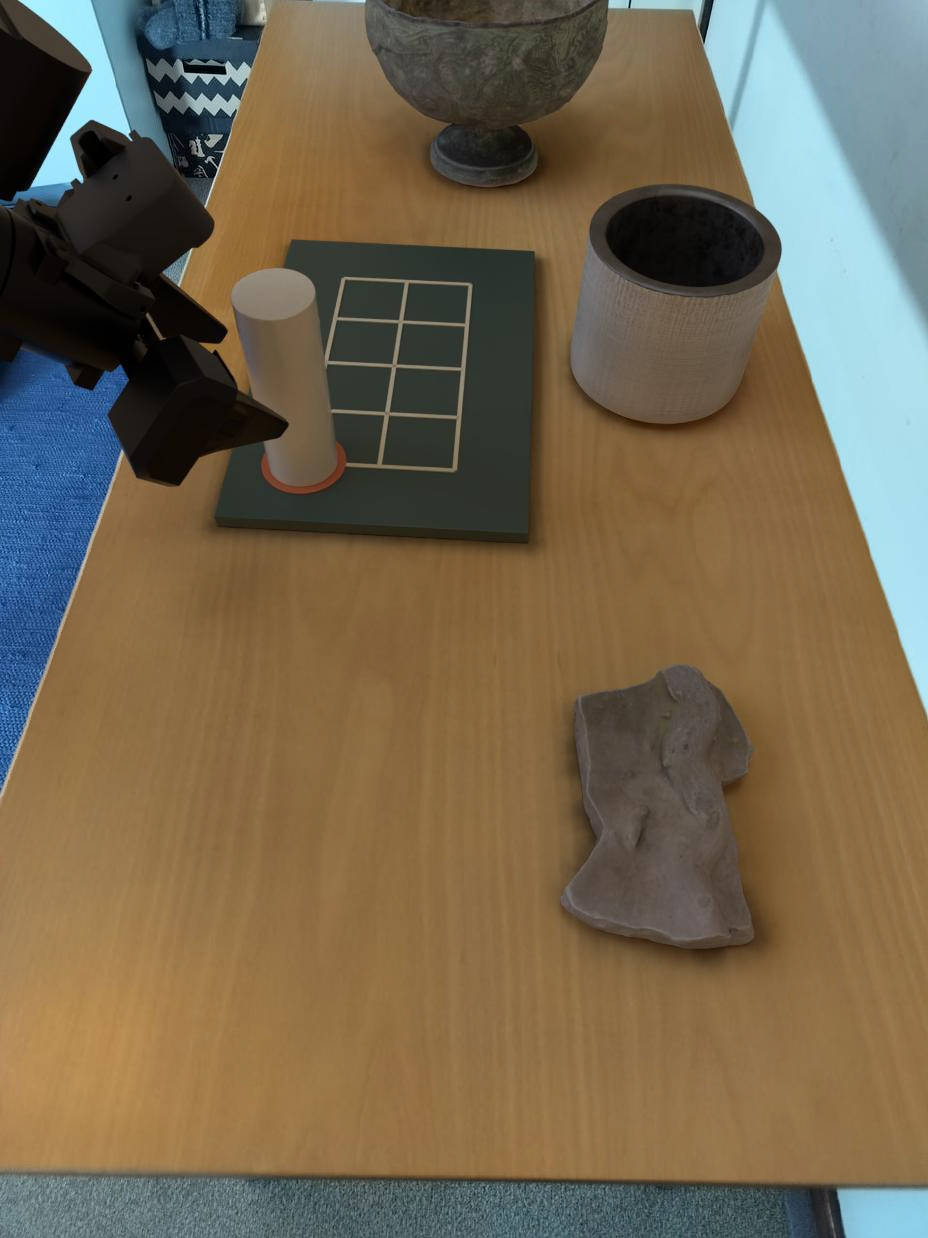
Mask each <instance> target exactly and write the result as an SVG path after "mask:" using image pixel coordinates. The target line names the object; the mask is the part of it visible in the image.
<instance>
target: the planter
mask: <svg viewBox="0 0 928 1238" xmlns="http://www.w3.org/2000/svg"><path fill="white" fill-rule="evenodd" d="M782 251H783V245H782V240H781V237H780V235H779V232H778V230H777V229H776V227H775V226H774V224H773V223H772V222H771V221H770V219H768V218H767V216H766V215H765V214H763V213H762V212H761V211H759V210H758V209H756V208H755V207H754V206H753V205H751V204H750V203H748V202H746V201H745V200H742V199H741V198H738V197H736V196H734V195H732V194H728V193H726V192H723V191H720V190H717V189H713V188H709V187H706V186H700V185H693V184H684V183H656V184H649V185H648V184H647V185H643V186H637V187H634V188H630V189H628V190H625V191H622V192H620V193H618V194H616V195H614V196H612V197H611V198H608V199H607V200H606V201H605V202H603V203H602V205H600V206H599V207H598V208H597V210H595V212H594V214H593V216H592V218H591V220H590V223H589V227H588V234H587V242H586V248H585V253H584V254H585V255H584V262H583V269H582V273H581V281H580V286H579V293H578V300H577V306H576V311H575V317H574V324H573V330H572V337H571V344H570V353H569V355H570V367H571V371H572V374H573V377H574V379H575V380H576V382H577V384H578V385H579V387H580V388H581V389H582V390H583V392H584V393H585V394H586V395H587V396H588V397H589V398H590V399H592V400H593V401H594V402H596V404H598V405H600V406H602V407H603V408H605V409H606V410H608V411H610V412H612V413H615V414H616V415H619V416H621V417H624V418H627V419H630V420H633V421H638V422H641V423H647V424H660V425H661V424H662V425H663V424H665V425H672V424H673V425H674V424H683V423H690V422H693V421H697V420H701V419H704V418H706V417H708V416H710V415H712V414H715V413H716V412H718V411H720V410H721V409H723V408H724V406H726V405H727V404H728V403H730V401H731V400H732V399H733V397H734V396H735V394H736V392H737V390H738V389H739V387H740V385H741V382H742V380H743V377H744V374H745V372H746V371H745V370H746V367H747V364H748V361H749V359H750V356H751V352H752V349H753V345H754V342H755V340H756V337H757V333H758V329H759V327H760V323H761V321H762V317H763V314H764V311H765V308H766V305H767V302H768V298H769V295H770V293H771V289H772V287H773V284H774V280H775V277H776V274H777V271H778V269H779V266H780V263H781V258H782V253H783V252H782Z"/></svg>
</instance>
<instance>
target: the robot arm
mask: <svg viewBox="0 0 928 1238" xmlns="http://www.w3.org/2000/svg"><path fill="white" fill-rule="evenodd" d="M92 72H93V68H92V64H91V63H90V61H89V60H88V58H86V57H85V56H84V55H83V53H82V52H81V51H80V50H79V49H78V48H77V47H76V46H75V45H74V44H73V43H72V42H71V41H69V39H68V38H66V37H65V36H64V35H63V34H62V33H61V32H60V31H58V30H57V29H56V28H55V27H54V26H52V24H50V23H49V22H48V21H46V20H45V19H44V18H43V17H41V16H40V15H39V14H37V12H35V11H33V10H32V9H31V8H30V7H28V6H27V5H25V3H23V2H22V1H20V0H0V201H4V202H7V203H8V202H9V203H12V202H13V200H14V198H15V196H16V194H17V192H18V193H22V192H27V191H29V190H30V188H31V187H32V184H33V183H34V182H35V179H36V178H37V176H38V174H39V172H40V171H41V168H42V167H43V165H44V162H45V160H46V159H47V157H48V155H49V153H50V151H51V149H52V148H53V146H54V144H55V142H56V140H57V139H58V136H59V134H60V132H61V130H62V129H63V127H64V125H65V123H66V121H67V119H68V117H69V115H70V114H71V112H72V110H73V108H74V106H75V104H76V102H77V100H78V98H79V97H80V95H81V93H82V91H83V90H84V87H85V85H87V82H88V80H89V78H90V76H91V75H92ZM69 140H70V141H69V142H70V145H71V148H72V152H73V155H74V158H75V162H76V165H77V168H78V171H79V174H80V175H81V177H82V180H83V181H82V182H81V181H80V180H79V179H78V178H77V177H76V178H74V179H72V180H71V181H70V186H71V187H72V188H70V189H65V190H64V191H63V193H62V195H61V197H60V199H59V201H58V203H57V205H56V206H55V207H53V206H50V205H48V204H46V203H43V202H42V201H40V200H38V199H36V198H33V197H31V198H29V199H28V201H26V200H24V199H22V198H20V197H18V198H17V200H16V202H15V204H14V206H13V208H12V209H11V208H8V207H6V206H4V205H2V204H0V360H1V361H4V362H7V363H9V364H13V362H14V360H15V358H16V356H17V355H18V353H19V352H20V350H23V351H26V352H29V353H31V354H34V355H37V356H39V357H42V358H44V359H47V360H50V361H54V362H56V363H59V364H62V365H63V366H64V368H65V370H66V372H67V374H68V376H69V379H70V380H71V382H72V385H73V386H76V387H78V388H82V389H85V390H88V391H91V392H93V391H94V390H95V388H96V386H97V385H98V383H99V382H100V380H101V378H102V377H103V375H104V373H105V372H108V373H113V372H114V371H116V369H118V368H119V367H120V366H121V368H122V370H123V372H124V373H125V376H126V377H127V379H128V381H127V383H126V384H125V385H124V387H123V389H122V390H121V391H120V393H119V395H118V396H117V398H116V400H115V402H114V403H113V404H112V406H111V408H110V409H109V411H108V412H107V414H106V416H107V418H108V421H109V423H110V426H111V428H112V431H113V433H114V436H115V437H116V438H115V439H117V442H118V444H119V446H120V447H121V450H122V452H123V453H124V456H125V457H126V460H127V461H128V464H129V466H130V468H131V470H132V472H133V474H134V476H135V478H136V479H139V480H141V481H146V482H149V483H152V484H156V485H160V486H164V487H168V488H177V487H180V486H181V485H182V483H183V482H184V480H185V479H186V477H187V476H188V475H189V473H190V472H191V470H192V469H193V467H194V466H195V465H196V463H197V462H198V460H199V459H200V458H203V457H206V456H209V455H212V454H215V453H217V452H218V453H219V452H222V451H226V450H231V449H233V448H236V447H240V446H245V445H250V444H254V443H259V442H264V441H268V440H273V439H278V438H280V437H281V436H282V435H283V433H284V432H285V431H286V429H287V428H288V426H289V423H288V421H287V420H286V419H285V418H283V417H282V416H280V415H279V414H277V413H276V412H274V411H273V410H271V409H270V408H268V407H267V406H265V405H263V404H262V403H260V402H258V401H257V400H255V399H253V398H251V397H250V396H248V394H246V393H245V392H243V391H241V390H240V389H239V386H238V382H237V381H236V378H235V376H234V375H233V374H232V372H231V370H230V369H229V367H228V365H227V364H226V362H225V360H224V359H223V357H222V355H221V354H220V353H219V351H218V349H214V350H213V351H212V352H211V351H210V350H209V349H207V347H205V346H204V345H202V344H209V345H220V344H221V343H223V341H224V339H225V338H226V336H227V335H228V333H229V330H228V328H227V326H226V325H225V324H223V323H222V322H221V321H220V320H219V319H217V317H215V316H214V315H213V314H212V313H211V312H209V311H208V310H207V309H206V308H205V307H204V306H202V305H201V304H200V303H199V302H198V301H196V300H195V299H194V298H193V297H192V296H191V295H190V294H188V293H187V292H186V291H185V290H183V289H182V288H181V287H180V286H179V285H178V284H176V283H175V282H174V281H173V280H171V278H170V277H169V276H167V275H166V274H165V273H164V272H165V271H167V269H168V268H170V267H171V266H172V265H173V264H175V262H177V261H178V260H179V259H180V258H182V257H183V256H184V255H185V254H187V253H188V252H189V251H190V250H192V249H199V248H200V247H201V246H203V245H204V244H205V243H207V241H208V240H209V239H210V238H211V237H212V235H213V232H214V230H215V227H216V223H215V219H214V218H213V217H212V215H211V214H210V212H209V211H208V210H207V208H206V207H205V206H204V203H202V201H201V200H200V198H199V197H198V195H197V194H196V193H195V191H194V190H193V188H192V187H191V186H190V185H189V183H188V182H187V181H186V180H185V178H184V177H183V176H182V174H180V172H179V171H178V170H177V168H176V167H175V166H174V165H173V163H172V162H171V161H170V159H169V158H168V157H167V156H166V155H165V153H164V152H163V150H161V149H160V147H159V146H158V145H157V143H156V142H155V141H154V140H153V138H151V137H148V136H141V135H140V134H139V133H138V131H137V130H136V129H132V131H130V132H129V133H128V136H127V135H126V134H125V133H123V132H121V131H118V130H117V129H115V128H112V127H110V126H108V125H106V124H103V123H101V122H99V121H97V120H95V119H89V120H88V121H87V122H86V123H85V124H83V125H82V126H81V127H80V128H78V129H77V130H76V131H75V132H73V133H72V134H71V135H70V137H69Z"/></svg>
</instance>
